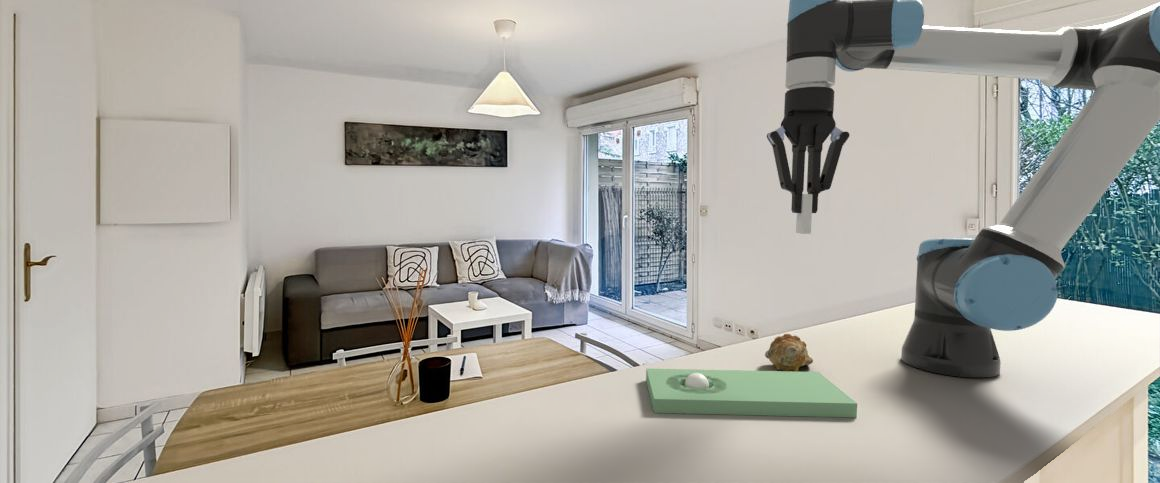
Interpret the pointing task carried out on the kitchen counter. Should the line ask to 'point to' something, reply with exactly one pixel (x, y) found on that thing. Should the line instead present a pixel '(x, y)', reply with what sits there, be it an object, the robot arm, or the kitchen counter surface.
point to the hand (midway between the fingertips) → (803, 233)
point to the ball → (696, 381)
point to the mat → (748, 393)
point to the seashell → (788, 353)
